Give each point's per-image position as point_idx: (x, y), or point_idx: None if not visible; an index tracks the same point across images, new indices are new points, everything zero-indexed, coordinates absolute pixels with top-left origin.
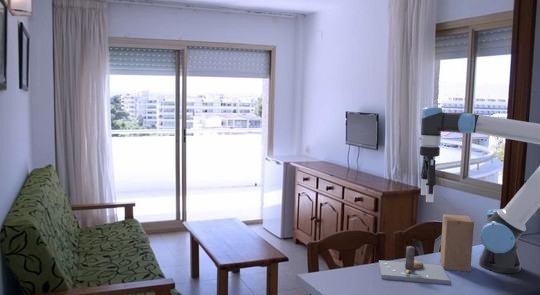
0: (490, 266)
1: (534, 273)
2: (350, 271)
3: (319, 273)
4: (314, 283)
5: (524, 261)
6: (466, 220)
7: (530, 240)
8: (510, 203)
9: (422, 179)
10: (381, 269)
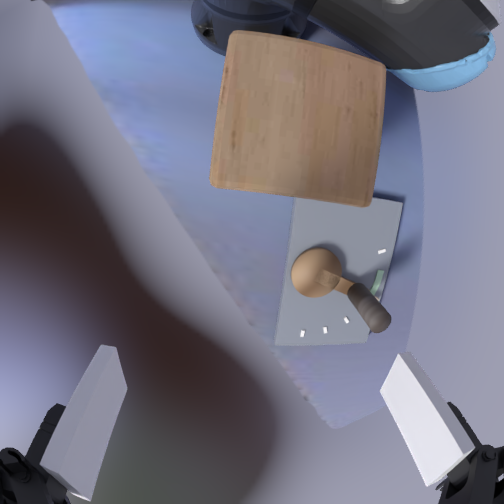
0: None
1: None
2: (322, 383)
3: (330, 415)
4: (367, 412)
5: None
6: (366, 89)
7: None
8: None
9: (84, 498)
10: (337, 343)
